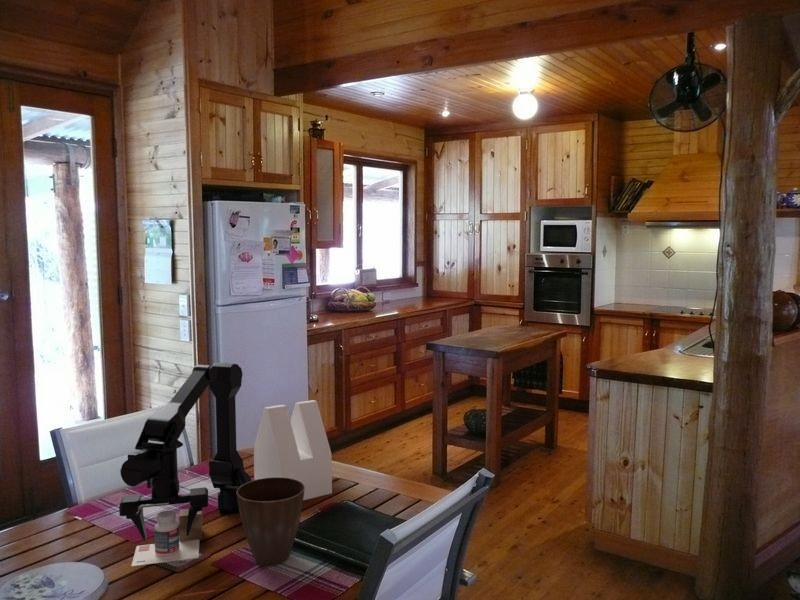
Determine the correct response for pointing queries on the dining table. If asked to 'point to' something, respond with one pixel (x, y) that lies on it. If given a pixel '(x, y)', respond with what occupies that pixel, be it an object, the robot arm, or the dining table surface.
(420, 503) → the dining table surface
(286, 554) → the plant pot
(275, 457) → the white forked block
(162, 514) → the pill bottle
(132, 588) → the dining table surface
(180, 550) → the letter
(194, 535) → the walnut block
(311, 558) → the dining table surface
